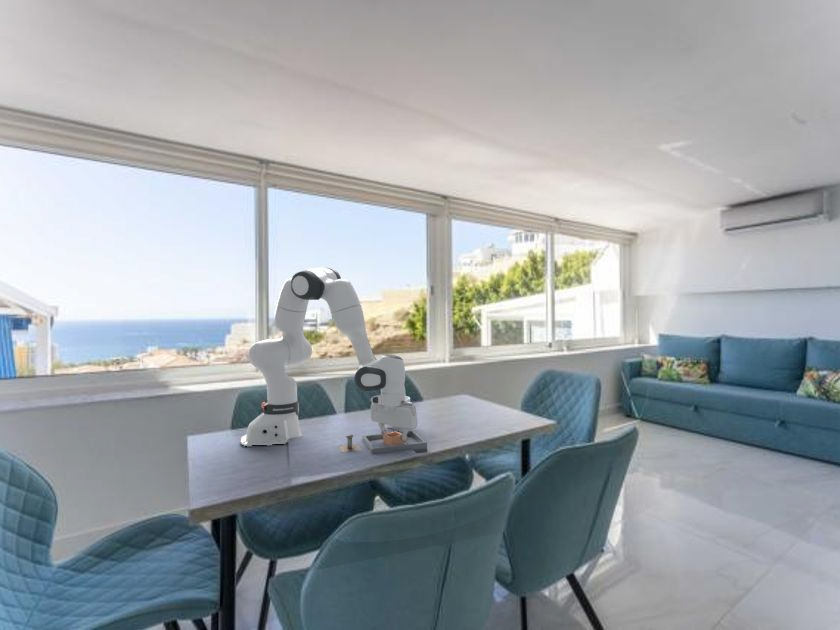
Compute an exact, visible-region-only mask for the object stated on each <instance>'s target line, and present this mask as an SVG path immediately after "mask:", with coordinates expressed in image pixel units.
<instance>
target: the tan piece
mask: <svg viewBox="0 0 840 630" xmlns="http://www.w3.org/2000/svg"><path fill="white" fill-rule="evenodd" d="M399 432H400V431H399ZM399 432H396V431H392V432H387V433H386V434H383V438H382V443H383V444H385V445H386V446H392V445H401V444H405V441H407V439H406V440H401V439H400V438H401V437H400V435H402V434H401V433H399Z"/></svg>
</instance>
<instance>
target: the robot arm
mask: <svg viewBox="0 0 840 630" xmlns="http://www.w3.org/2000/svg"><path fill="white" fill-rule="evenodd" d="M320 299H322V300H324V301H325V302H326V303H327V305H328V308H329V310H330V314H331V318H332V320H333V322H334V324H335V326H336V328H337V330H338V331H339V332H340V333H341V334H343V335H344V336H345V337H346V338H347V339H348V340H349V341H350V343H351V344H352V347H353V350H354V353H355V355H356V359H357V361H358V369H357V370H356V372H355V374H354V377H353V378H354V379H353V380H354V384H355V386H356V387H357V389H359V390H360V391H362V392H367V393H368V392H374V391H379V390H380V394H378V395H373V396H371V398H370V402H371V405H370V419H371V421H372V422H375V423H377V424H378V428H379V429H380V434H381V435H383V434H386V433H388V429H386V426H387V425H391V426H396V427H400V428H402V431H404V432H403V434H402V435H400V437H401V438H400V439H401V440H406V439H407V433H408V431H410V430H414V429H416V428H417V427H418V416H417V409H416V408H417V407H416V405H415V404H414V403H413V402H411V401H410V402H406V401H405V396H406V387H405V381H406V367H405V361H404V359H403V358H402V357H401V356H399V355H395V354H389V353H388V354H383V355H382V356H380V357H379V358H376V357H375V355H374V352H373V349H372V346H371V343H370V340H369V338H368V334H367V328H366V322H365V316H364V311H363V307H362V305H361V301H360V298H359V297H358V294H357V292H356V290H355V288H354V286H353V285H352V283H351V282H350V280H348V279H343V278H342V277H341V275H340V273H339V272H338V271H336V270H335V269H333V268H330V267H314V268H308V269H302V270H299V271H297V272H296V273H294V274H293V276H291V278H288V279H286V280H285V281H284V283H283V285H282V287H281V290H280V292H279V296H278V298H277V303H276V307H275V312H274V317H273V325H274V326H275V328H276V329H277V330H279V331H280V332H282V333H281V337H280V338H273V339H264V340H260V341H258V342H257V341H256V342H254V343H253V344H252V345H251V346H250V347H249V350H248V359H249V362H250V363H251V365H252V366H253V367H254V369H255V368H256V369H257V370H258V371H260V373H261V375H262V376H263V378H264V380H265V384H266V393H267V398H266V399H267V402H265V401H263V402H262V403H261V404H260V406H261V411H262V412H261V413H260V414H259V415H258V416H257V417H256V418H254V419H253V420H252V421H251V422H250V423H249V424H248V426H247V429H246V434H244V435H243V436H242V437H241V438H240V445H241V444H242V445H244V446H243V447H245V446H247V447H252V446H251V445H267V446H273V445H272V444H284V445H287V444H289V440H290V439H293V438H302V437H303V434H302V432H301V428H300V427H301V426H300V422H299V413H300V411H299V408H300V405H299V400H298V383H297V381H296V379H295V378H293V377H292V376H290V375H288V374H287V372H286V367H290V366H296V365H300V364H303V363H306V362H308V361H309V360H310V359H311V357H312V354H313V348H312V345H311V342H310V341H309V340H308V339H307V338H306V336H305V334H304V324H305V319H306V314H307V310H308V305H309V302H310V301H312V300H313V301H318V300H319V301H320ZM385 425H386V426H385ZM301 436H302V437H301ZM286 443H287V444H286ZM242 445H241V446H242Z"/></svg>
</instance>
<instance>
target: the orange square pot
mask: <svg viewBox="0 0 840 630" xmlns="http://www.w3.org/2000/svg"><path fill="white" fill-rule="evenodd" d="M345 438H346V439H347V441H346V443H347V444H346V445H338V449H339V450H340V452H341V453H349V452H350V453H351V452H357V451H358V452H359V451H362V448H361V447H360V444H358V443H355V444H354V443H353V438H354V435H353V434H352V433H349V434H346V437H345Z"/></svg>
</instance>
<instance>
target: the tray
mask: <svg viewBox="0 0 840 630" xmlns="http://www.w3.org/2000/svg"><path fill="white" fill-rule="evenodd" d="M403 432H404V431H399V433H401V434H403ZM379 439H383V435H381V433H375V434H373V433H372V434H365V435H362V439H361V440H362V441H363V443H364V444H365V446H366V447H367V449H368V451H369V453H370V454H379V453H386V452H394V451H395V452H396V451H403V450H412V451H413V452H414V453H420V452H421V453H422V452H427V451H428V441H426V440H425V438H423V437H422V436H420V435H419V434H418V433H417V432H416V431H415V430H414V429H412V430H409V431H408V433H407V441H404V444H400V445H392V446H389V445H385V446H377V447H376V446H375V447H374V446H373V445H372V443H371V442H370V441H371V440H379Z"/></svg>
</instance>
